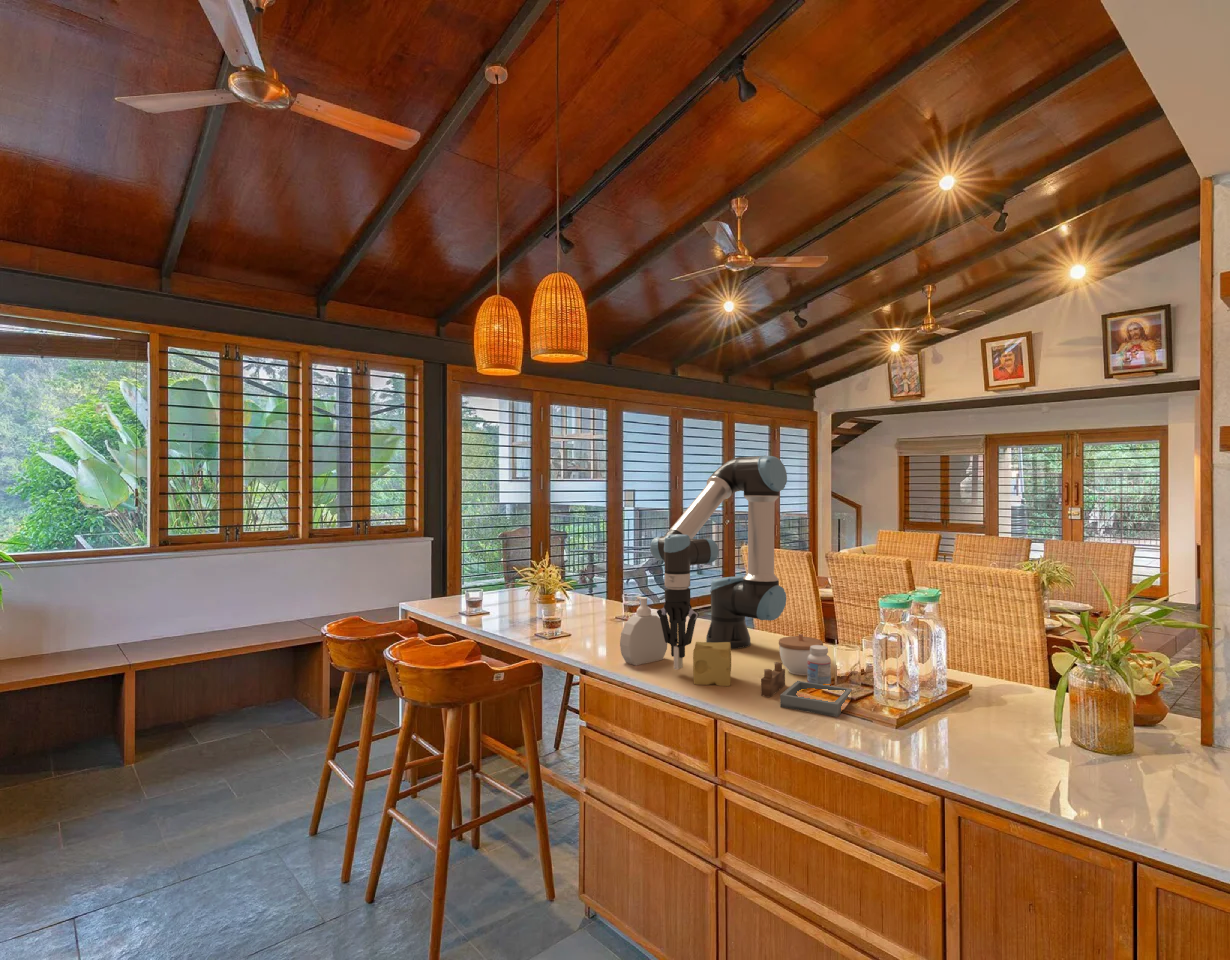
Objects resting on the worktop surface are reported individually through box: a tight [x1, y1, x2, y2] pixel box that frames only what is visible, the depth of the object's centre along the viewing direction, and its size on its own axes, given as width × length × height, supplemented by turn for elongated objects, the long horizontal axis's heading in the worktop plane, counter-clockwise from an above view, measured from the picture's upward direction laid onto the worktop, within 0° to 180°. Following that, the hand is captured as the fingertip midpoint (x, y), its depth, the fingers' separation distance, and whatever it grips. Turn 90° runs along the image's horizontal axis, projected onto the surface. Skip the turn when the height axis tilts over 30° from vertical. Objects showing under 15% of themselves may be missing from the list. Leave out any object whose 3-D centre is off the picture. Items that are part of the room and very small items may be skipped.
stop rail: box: [760, 661, 786, 698], centre depth 180 cm, size 12×2×6 cm, turn 147°
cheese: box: [692, 641, 732, 687], centre depth 190 cm, size 10×11×10 cm
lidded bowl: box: [778, 633, 824, 676], centre depth 197 cm, size 13×13×11 cm
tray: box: [779, 680, 853, 718], centre depth 169 cm, size 14×14×3 cm
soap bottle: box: [619, 596, 668, 666], centre depth 211 cm, size 16×5×20 cm, turn 127°
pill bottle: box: [807, 645, 832, 685], centre depth 181 cm, size 6×6×11 cm
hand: (678, 668), depth 196 cm, fingers closed
